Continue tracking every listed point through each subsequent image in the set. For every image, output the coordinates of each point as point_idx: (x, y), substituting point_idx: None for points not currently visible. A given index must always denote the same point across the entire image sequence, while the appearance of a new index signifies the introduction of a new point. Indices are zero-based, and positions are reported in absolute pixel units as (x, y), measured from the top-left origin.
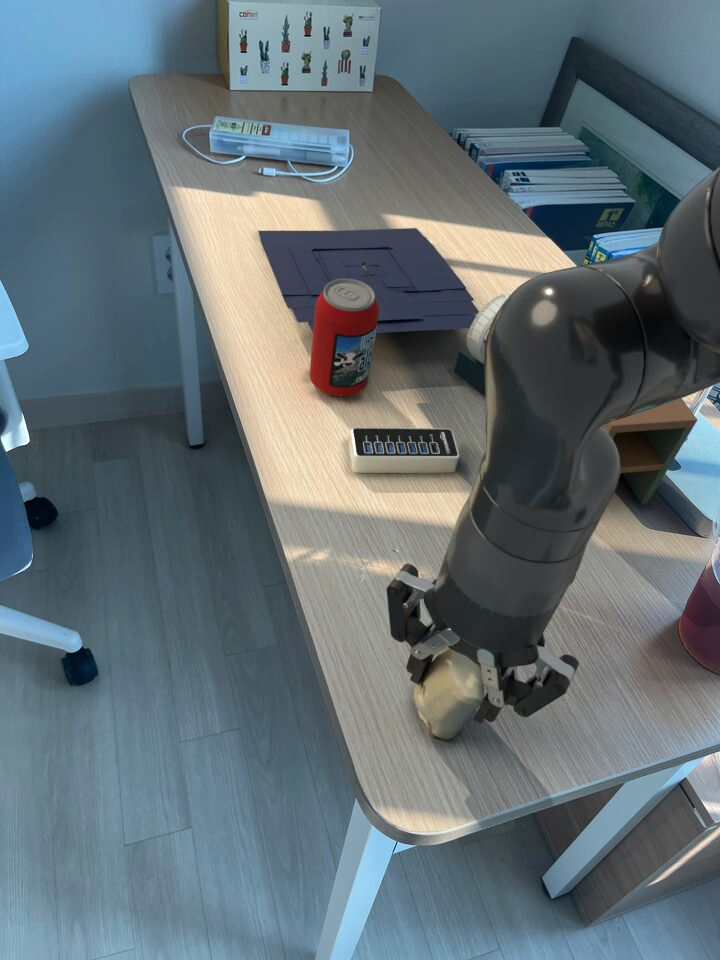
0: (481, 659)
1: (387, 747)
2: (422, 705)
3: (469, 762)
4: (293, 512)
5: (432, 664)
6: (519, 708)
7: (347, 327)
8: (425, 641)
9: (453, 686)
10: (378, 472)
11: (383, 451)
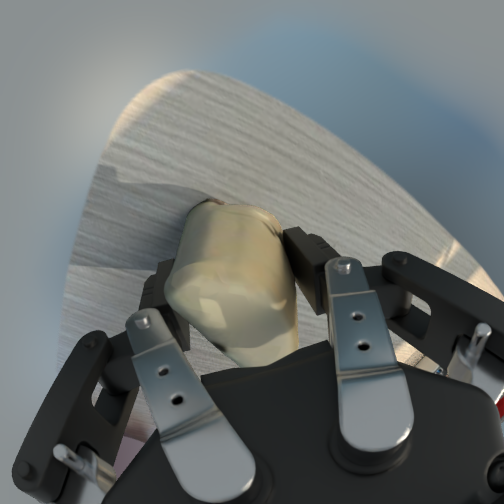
0: (217, 437)
1: (245, 136)
2: (252, 210)
3: (148, 212)
4: (466, 274)
5: (292, 274)
6: (94, 345)
7: (500, 404)
8: (380, 306)
9: (232, 274)
10: (425, 356)
11: (435, 373)
